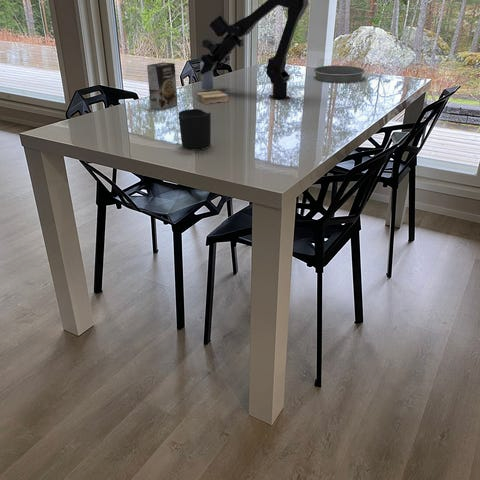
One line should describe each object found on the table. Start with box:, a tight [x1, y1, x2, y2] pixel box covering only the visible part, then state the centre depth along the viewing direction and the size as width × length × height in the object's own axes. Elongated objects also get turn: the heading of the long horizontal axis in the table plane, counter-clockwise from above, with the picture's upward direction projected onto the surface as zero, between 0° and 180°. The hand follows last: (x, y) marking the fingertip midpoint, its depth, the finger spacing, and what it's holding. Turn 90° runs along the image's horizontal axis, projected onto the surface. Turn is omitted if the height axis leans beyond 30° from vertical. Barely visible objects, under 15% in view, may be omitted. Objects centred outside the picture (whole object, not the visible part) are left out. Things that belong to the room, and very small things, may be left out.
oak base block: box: [196, 90, 229, 105], centre depth 198 cm, size 10×10×2 cm
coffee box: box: [146, 61, 178, 111], centre depth 186 cm, size 9×6×16 cm
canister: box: [199, 60, 214, 91], centre depth 209 cm, size 5×5×11 cm
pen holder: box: [178, 108, 212, 150], centre depth 145 cm, size 9×9×10 cm
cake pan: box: [313, 64, 366, 84], centre depth 235 cm, size 25×25×4 cm
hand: (203, 72), depth 209 cm, fingers closed on canister, 5 cm apart
